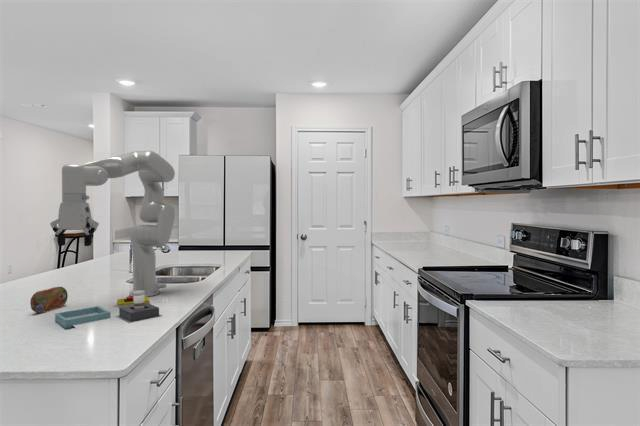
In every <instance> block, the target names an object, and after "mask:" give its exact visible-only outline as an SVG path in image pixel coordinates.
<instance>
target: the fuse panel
mask: <svg viewBox="0 0 640 426" xmlns="http://www.w3.org/2000/svg"><path fill="white" fill-rule="evenodd" d="M118 309H119V311H118V312H119V313H118V315H115V317H116V318H118V319H121V320H122V321H124V322H126V323H128V324H132V323H135V322H140V321H146V320H150V319H155V318H159V317H160V318H161V317H163V315H162V314H160V307H158V306H156V305H153V304H152V303H150V304H148V303H145V309H140V310H134V305H132V306H126V307H121V308H118Z"/></svg>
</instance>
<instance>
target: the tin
mask: <svg viewBox="0 0 640 426" xmlns="http://www.w3.org/2000/svg"><path fill="white" fill-rule="evenodd" d="M68 298H69V297H68V291H67V289H66V288H65V287H63V286H54V287H51V288H46V289H43V290H39V291H36V292H35V293H33V295H32V296H31V297H30V301H29V302H30V304H29V305H30V309H31V311H33V312H35V313H37V314H38V313H39V314H45V313H48V312H47V311H49V312H51V311H50V310H52V311H55V310H57V308H58V309H60V308H62V307H64V306H65V305H66V303H67V301H68ZM54 309H55V310H54Z"/></svg>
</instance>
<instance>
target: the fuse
mask: <svg viewBox="0 0 640 426" xmlns="http://www.w3.org/2000/svg"><path fill="white" fill-rule="evenodd" d="M132 291H133V290H132ZM144 294H145V290H136V291H133V295H134V310H140V309H145V301H144Z"/></svg>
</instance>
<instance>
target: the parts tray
mask: <svg viewBox="0 0 640 426" xmlns="http://www.w3.org/2000/svg"><path fill="white" fill-rule="evenodd" d="M89 314H90V315H89ZM79 316H80V317H79ZM73 317H74V318H73ZM107 319H111V312H110V311H109V310H107V309H105V308H103V307H101V306H98V305H97V306H91V307H85V308H78V309H74V310H68V311H61V312H56V313H54V322H55V323H56V324H57V323H58V324H57V325H58V326H61V327H62V328H63V329H64V330H70V329H73V328H74V329H75V328H76V325H80V324H86V323H90V322H91V323H92V322H95V321H100V320H101V321H103V320H107ZM74 325H75V326H74Z"/></svg>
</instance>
